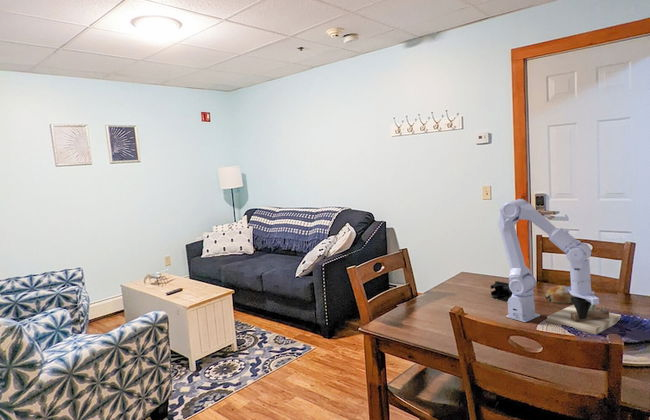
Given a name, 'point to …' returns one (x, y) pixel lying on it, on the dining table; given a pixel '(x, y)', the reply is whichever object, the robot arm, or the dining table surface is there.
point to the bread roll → (558, 295)
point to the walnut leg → (592, 315)
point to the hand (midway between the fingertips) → (582, 318)
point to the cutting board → (583, 325)
